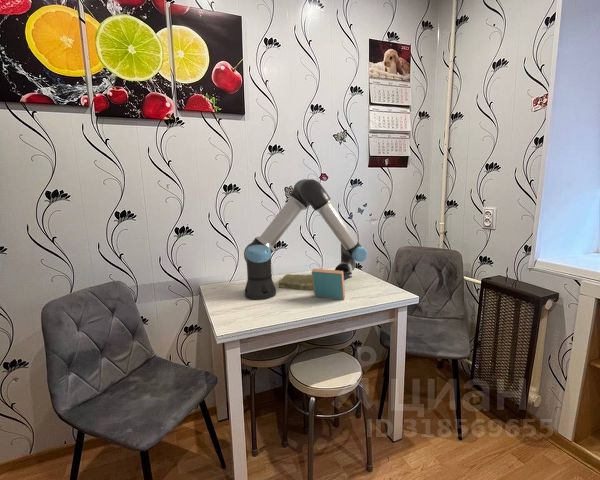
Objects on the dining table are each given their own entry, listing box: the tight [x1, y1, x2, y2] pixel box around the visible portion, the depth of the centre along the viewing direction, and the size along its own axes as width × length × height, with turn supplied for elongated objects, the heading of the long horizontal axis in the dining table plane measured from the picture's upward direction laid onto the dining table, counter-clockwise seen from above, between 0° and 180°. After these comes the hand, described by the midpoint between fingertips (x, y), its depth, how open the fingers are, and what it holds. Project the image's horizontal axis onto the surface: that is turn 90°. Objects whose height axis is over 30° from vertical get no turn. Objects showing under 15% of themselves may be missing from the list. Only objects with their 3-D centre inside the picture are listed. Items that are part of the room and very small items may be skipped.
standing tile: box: [311, 268, 346, 301], centre depth 149 cm, size 14×3×14 cm, turn 68°
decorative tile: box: [278, 273, 314, 291], centre depth 172 cm, size 19×20×4 cm
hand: (330, 283), depth 151 cm, fingers closed
